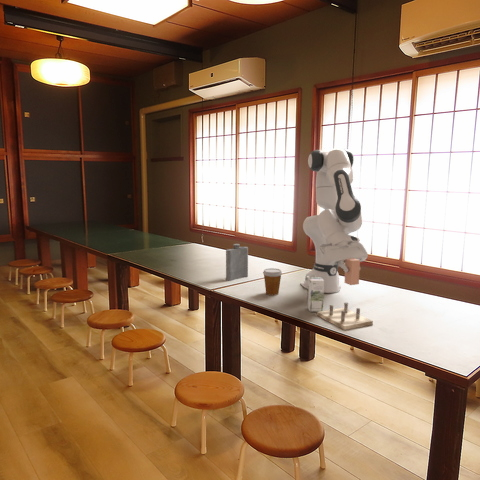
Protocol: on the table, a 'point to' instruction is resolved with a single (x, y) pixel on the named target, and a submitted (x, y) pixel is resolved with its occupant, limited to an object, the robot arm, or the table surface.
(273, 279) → the disposable coffee cup
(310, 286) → the syrup box
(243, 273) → the hip flask
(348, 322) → the peg board
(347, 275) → the terracotta block
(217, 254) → the table surface
